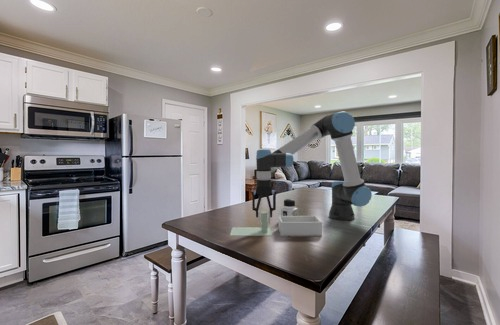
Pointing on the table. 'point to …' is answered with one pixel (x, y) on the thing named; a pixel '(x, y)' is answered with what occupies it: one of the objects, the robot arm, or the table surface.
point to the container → (289, 208)
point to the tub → (300, 226)
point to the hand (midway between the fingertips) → (264, 223)
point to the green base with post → (253, 228)
